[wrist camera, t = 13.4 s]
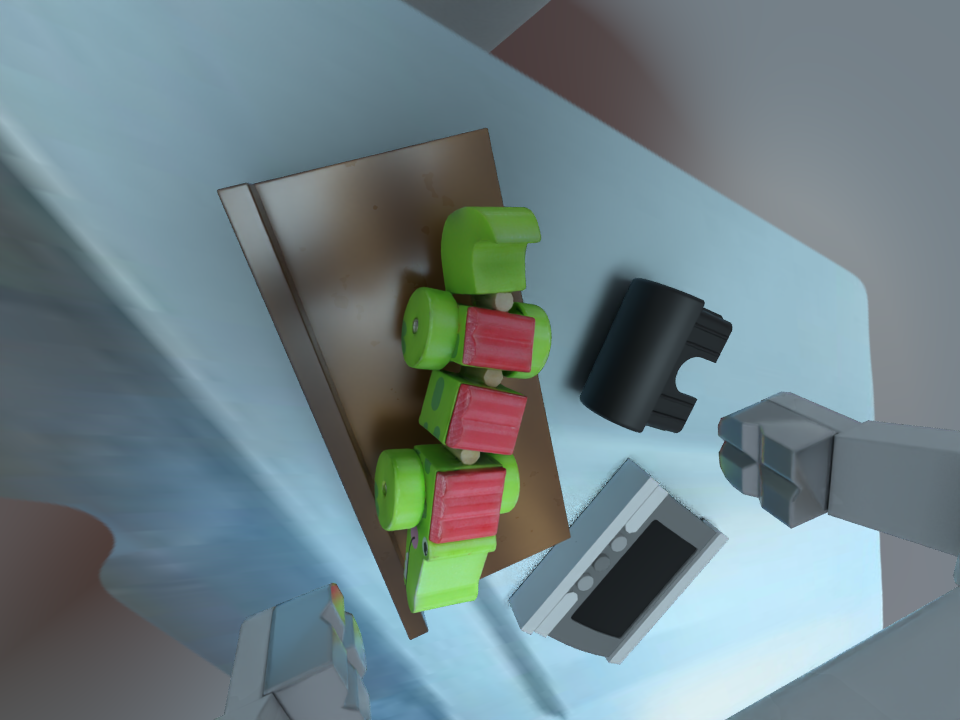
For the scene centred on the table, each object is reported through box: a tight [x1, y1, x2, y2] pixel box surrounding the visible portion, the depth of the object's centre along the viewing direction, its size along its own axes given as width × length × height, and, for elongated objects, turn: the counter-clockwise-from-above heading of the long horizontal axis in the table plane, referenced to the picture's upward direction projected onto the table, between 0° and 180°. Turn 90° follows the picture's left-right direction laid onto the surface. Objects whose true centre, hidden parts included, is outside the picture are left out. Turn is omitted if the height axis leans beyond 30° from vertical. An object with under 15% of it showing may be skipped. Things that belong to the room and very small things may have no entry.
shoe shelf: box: [217, 128, 571, 640], centre depth 29 cm, size 12×26×10 cm, turn 14°
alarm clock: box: [509, 458, 729, 664], centre depth 45 cm, size 17×5×16 cm
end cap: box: [580, 278, 732, 433], centre depth 35 cm, size 10×7×7 cm
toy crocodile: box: [375, 207, 552, 613], centre depth 22 cm, size 20×7×6 cm, turn 167°
